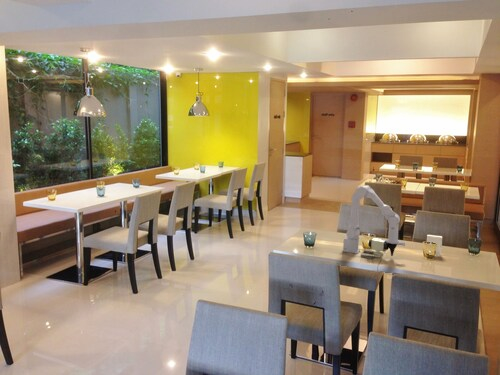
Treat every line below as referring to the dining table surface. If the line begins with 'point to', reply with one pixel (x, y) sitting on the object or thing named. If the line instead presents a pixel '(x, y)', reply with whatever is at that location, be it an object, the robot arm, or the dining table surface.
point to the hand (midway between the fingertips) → (392, 255)
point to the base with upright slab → (436, 240)
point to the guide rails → (368, 255)
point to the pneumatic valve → (378, 246)
